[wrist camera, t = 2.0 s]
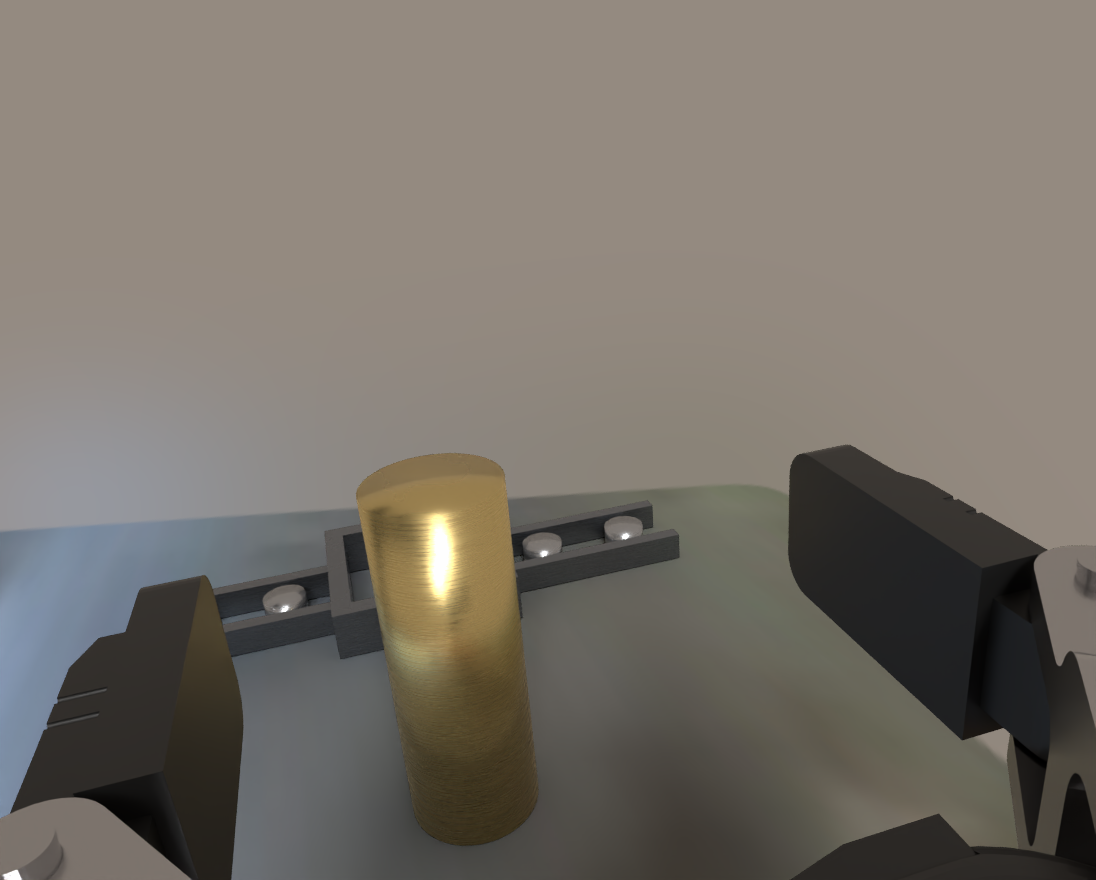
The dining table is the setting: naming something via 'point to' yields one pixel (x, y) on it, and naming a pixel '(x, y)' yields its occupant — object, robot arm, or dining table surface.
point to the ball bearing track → (360, 618)
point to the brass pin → (452, 641)
